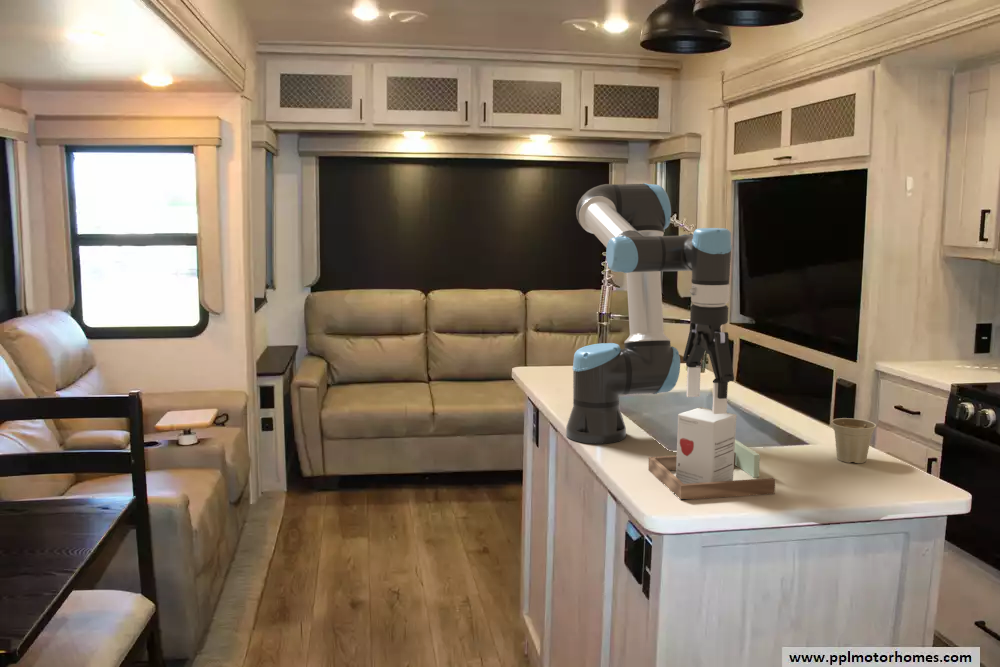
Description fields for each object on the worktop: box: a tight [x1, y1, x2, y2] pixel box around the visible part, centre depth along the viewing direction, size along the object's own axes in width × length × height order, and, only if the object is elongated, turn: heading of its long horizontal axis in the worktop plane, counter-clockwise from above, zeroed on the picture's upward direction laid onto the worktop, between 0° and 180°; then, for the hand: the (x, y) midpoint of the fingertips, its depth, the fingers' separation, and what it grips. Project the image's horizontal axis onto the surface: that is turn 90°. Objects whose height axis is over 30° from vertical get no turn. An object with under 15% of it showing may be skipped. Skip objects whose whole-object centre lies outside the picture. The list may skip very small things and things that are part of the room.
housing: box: [648, 452, 776, 500], centre depth 170 cm, size 19×20×3 cm
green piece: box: [734, 439, 761, 479], centre depth 181 cm, size 18×3×5 cm, turn 9°
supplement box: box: [675, 406, 738, 484], centre depth 169 cm, size 9×9×15 cm
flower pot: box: [830, 417, 877, 464], centre depth 183 cm, size 9×9×9 cm
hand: (705, 404), depth 168 cm, fingers open, 13 cm apart
